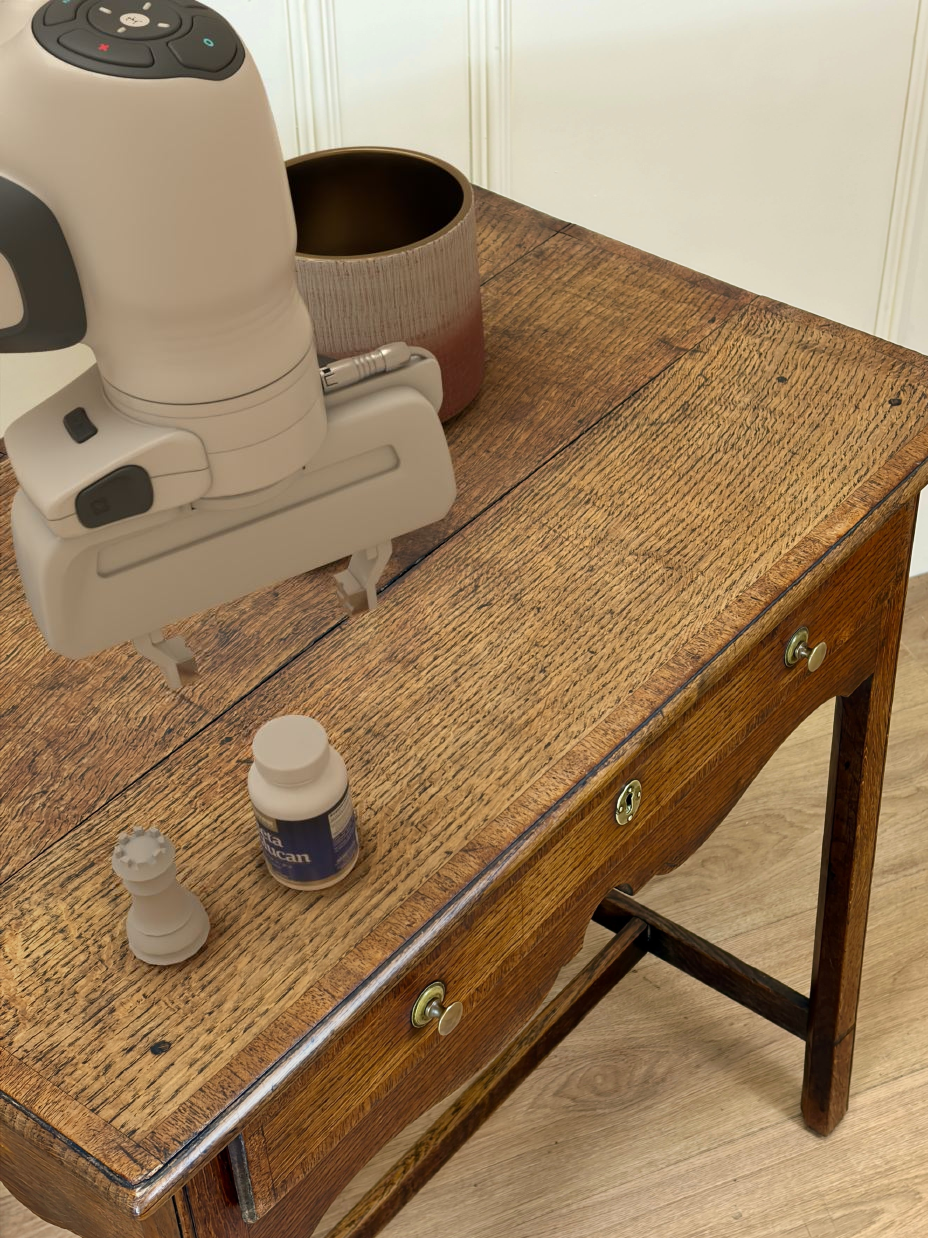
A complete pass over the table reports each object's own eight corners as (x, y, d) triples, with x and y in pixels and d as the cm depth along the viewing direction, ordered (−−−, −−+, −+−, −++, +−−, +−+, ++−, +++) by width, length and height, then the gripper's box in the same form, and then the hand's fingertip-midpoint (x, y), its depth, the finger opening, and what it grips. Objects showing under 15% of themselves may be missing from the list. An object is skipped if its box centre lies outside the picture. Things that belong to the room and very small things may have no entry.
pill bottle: (249, 880, 84) (219, 765, 77) (290, 811, 87) (264, 694, 80) (337, 904, 82) (314, 789, 75) (375, 832, 86) (356, 716, 79)
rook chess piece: (134, 906, 83) (101, 813, 77) (215, 900, 83) (187, 807, 77) (125, 973, 80) (89, 882, 74) (208, 967, 80) (179, 875, 74)
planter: (320, 311, 126) (294, 130, 115) (517, 345, 121) (510, 160, 110) (223, 428, 114) (183, 240, 103) (436, 470, 110) (419, 278, 99)
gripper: (403, 298, 68) (429, 533, 78) (-36, 443, 61) (53, 680, 71) (469, 362, 64) (487, 601, 74) (7, 524, 58) (95, 763, 67)
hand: (271, 641), depth 73 cm, fingers open, 8 cm apart
